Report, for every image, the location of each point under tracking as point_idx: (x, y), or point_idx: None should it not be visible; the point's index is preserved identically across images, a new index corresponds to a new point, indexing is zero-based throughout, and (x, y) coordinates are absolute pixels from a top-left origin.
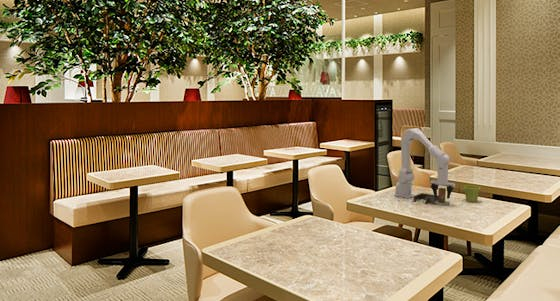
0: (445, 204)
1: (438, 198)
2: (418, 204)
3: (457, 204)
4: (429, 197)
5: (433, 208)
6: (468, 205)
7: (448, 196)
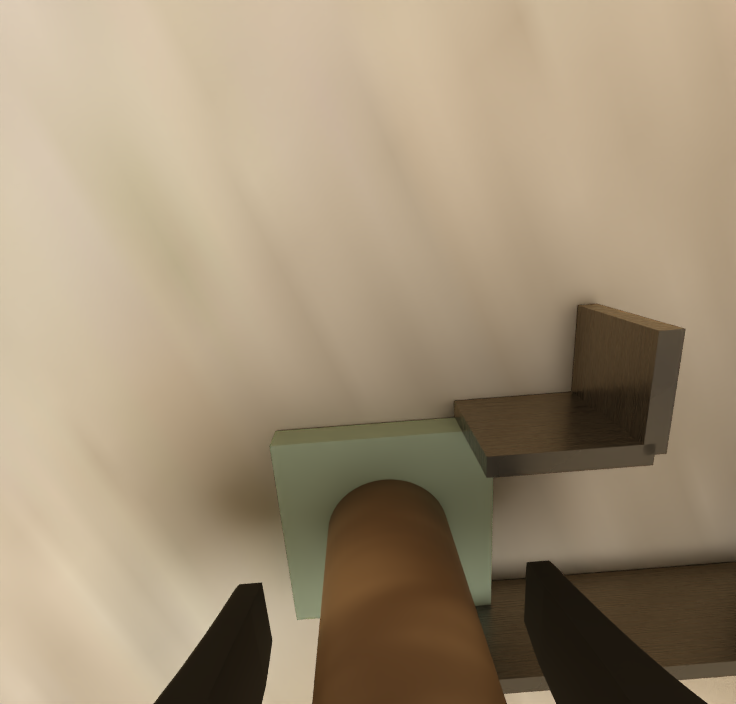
0: (273, 450)
1: (443, 539)
2: (697, 167)
3: (186, 608)
4: (621, 449)
5: (326, 71)
6: (51, 653)
7: (209, 632)
